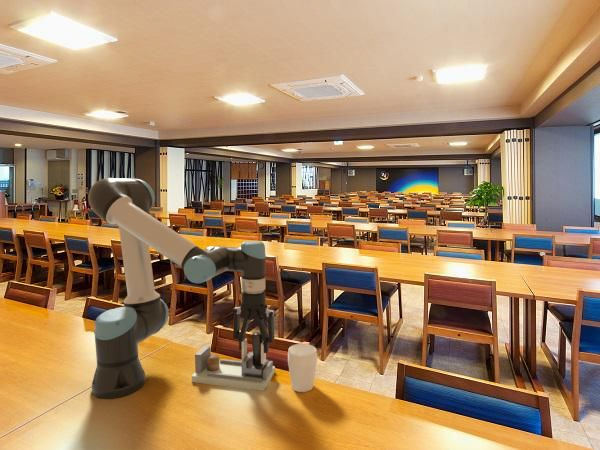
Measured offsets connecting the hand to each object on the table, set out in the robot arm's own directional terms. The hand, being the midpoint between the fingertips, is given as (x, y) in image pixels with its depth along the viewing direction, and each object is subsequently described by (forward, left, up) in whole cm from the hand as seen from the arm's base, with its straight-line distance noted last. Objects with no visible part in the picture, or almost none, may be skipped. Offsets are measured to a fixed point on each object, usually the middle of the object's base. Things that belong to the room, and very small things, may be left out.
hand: (253, 360), depth 121 cm
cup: (+16, -1, -6) cm, 17 cm away
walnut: (-14, 0, -4) cm, 15 cm away
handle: (0, 0, -4) cm, 4 cm away
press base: (-7, 0, -6) cm, 9 cm away
